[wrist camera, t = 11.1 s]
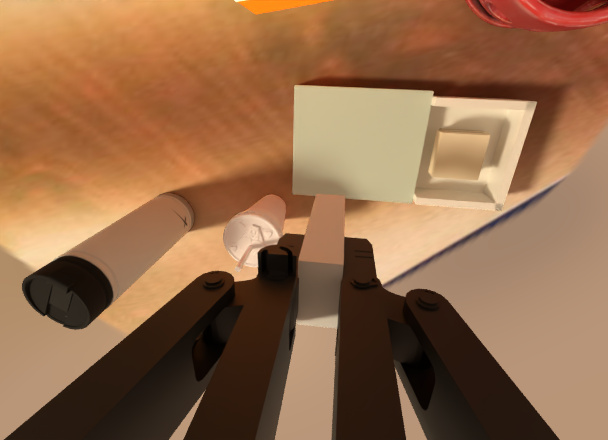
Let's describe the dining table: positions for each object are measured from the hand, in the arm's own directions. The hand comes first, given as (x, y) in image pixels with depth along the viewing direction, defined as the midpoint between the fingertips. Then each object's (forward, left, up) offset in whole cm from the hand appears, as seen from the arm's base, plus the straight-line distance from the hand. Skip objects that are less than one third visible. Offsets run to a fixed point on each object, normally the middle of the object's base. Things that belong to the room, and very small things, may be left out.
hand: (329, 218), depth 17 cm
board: (0, +2, -22) cm, 22 cm away
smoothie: (+9, -8, -23) cm, 26 cm away
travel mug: (+11, -22, -23) cm, 33 cm away
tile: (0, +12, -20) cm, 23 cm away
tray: (0, +13, -22) cm, 26 cm away
